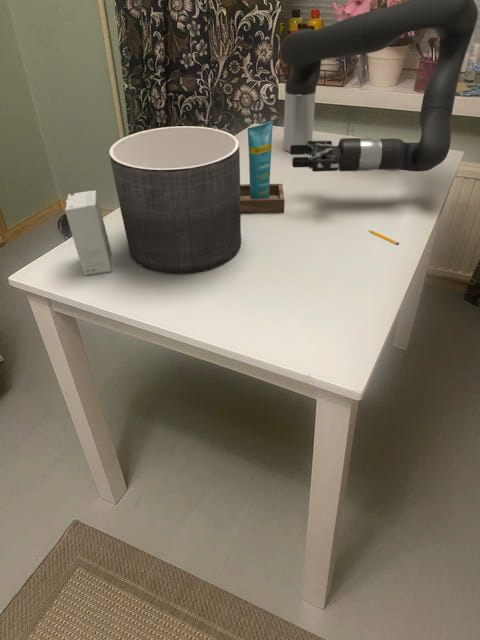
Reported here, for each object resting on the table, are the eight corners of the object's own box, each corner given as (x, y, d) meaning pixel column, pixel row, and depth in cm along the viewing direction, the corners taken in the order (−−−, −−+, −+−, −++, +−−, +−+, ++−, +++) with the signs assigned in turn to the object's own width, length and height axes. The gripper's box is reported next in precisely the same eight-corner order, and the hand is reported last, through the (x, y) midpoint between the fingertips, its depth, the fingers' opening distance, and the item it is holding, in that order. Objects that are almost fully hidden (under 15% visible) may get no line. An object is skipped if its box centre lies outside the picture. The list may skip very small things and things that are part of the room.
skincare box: (112, 272, 98) (97, 205, 89) (82, 276, 97) (63, 209, 88) (111, 252, 104) (97, 188, 95) (83, 256, 103) (66, 191, 94)
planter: (106, 262, 101) (81, 160, 87) (163, 212, 119) (150, 121, 106) (214, 285, 93) (206, 177, 80) (257, 228, 112) (257, 132, 98)
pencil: (396, 246, 104) (397, 243, 103) (366, 232, 109) (366, 229, 109) (399, 245, 104) (399, 242, 104) (368, 231, 110) (369, 228, 109)
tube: (256, 209, 118) (255, 129, 106) (242, 203, 120) (241, 125, 108) (276, 200, 122) (278, 122, 110) (263, 194, 124) (263, 118, 112)
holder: (236, 197, 125) (236, 184, 123) (281, 196, 125) (282, 183, 123) (235, 213, 118) (235, 200, 116) (283, 213, 117) (284, 199, 115)
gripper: (355, 129, 116) (290, 130, 117) (366, 149, 105) (294, 150, 105) (352, 159, 121) (288, 160, 121) (362, 181, 110) (292, 182, 110)
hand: (291, 155), depth 113 cm, fingers open, 8 cm apart
